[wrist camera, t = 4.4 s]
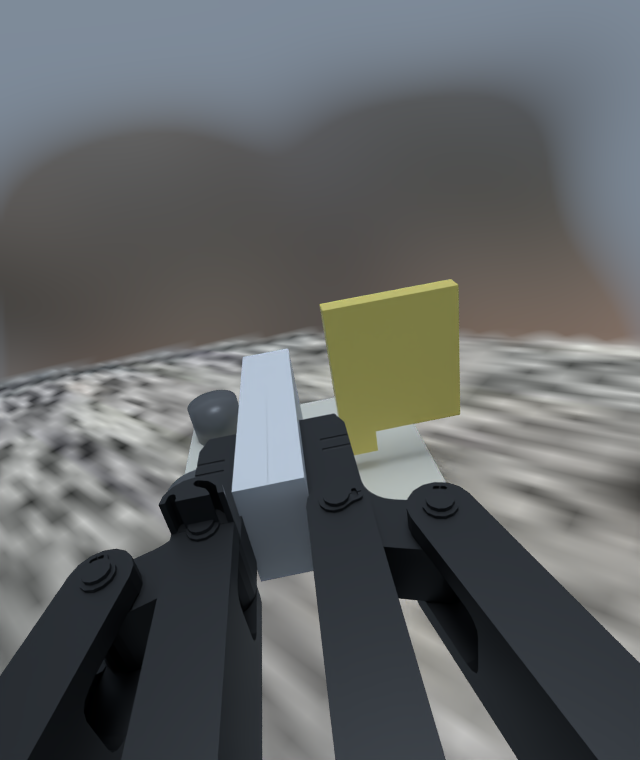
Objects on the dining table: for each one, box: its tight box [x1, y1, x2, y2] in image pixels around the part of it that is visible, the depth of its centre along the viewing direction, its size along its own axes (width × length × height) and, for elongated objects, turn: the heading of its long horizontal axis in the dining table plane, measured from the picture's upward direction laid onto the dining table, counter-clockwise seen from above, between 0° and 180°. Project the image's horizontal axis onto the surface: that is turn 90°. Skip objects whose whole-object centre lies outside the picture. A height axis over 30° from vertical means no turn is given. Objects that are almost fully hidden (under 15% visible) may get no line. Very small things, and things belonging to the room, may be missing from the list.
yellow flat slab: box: [320, 279, 460, 455], centre depth 30 cm, size 14×5×12 cm, turn 97°
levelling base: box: [168, 390, 445, 500], centre depth 35 cm, size 18×15×5 cm
